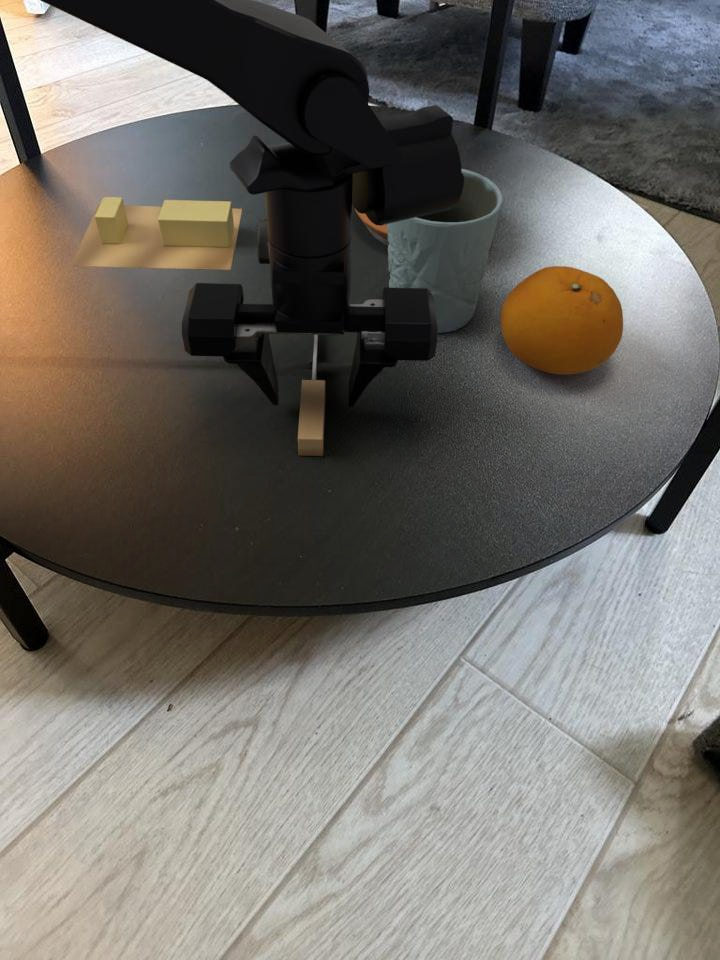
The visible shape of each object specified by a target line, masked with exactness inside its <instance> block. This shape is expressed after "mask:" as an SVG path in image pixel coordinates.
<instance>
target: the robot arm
mask: <svg viewBox="0 0 720 960" xmlns="http://www.w3.org/2000/svg"><path fill="white" fill-rule="evenodd" d="M39 1H41V2H42V3H45V4H47V5H49V6H51V7H53V8H55V9H57V10H59V11H60V12H61V11H62V12H64V13H66V14H68V15H70V16H72V17H74V18H76V19H78V20H80V21H83V22H85V23H87V24H88V25H91V26H93V27H95V28H97V29H99V30H101V31H104V32H106V33H108V34H109V35H112V36H114V37H116V38H118V39H120V40H122V41H124V42H127V43H129V44H130V45H133V46H135V47H137V48H140V50H143V51H145V52H148V53H149V54H152V55H153V56H156V57H158V58H160V59H163V60H164V61H167V62H168V63H171V64H173V65H174V66H176V67H179V68H182V69H183V70H186V71H187V72H189V73H191V74H194V75H196V76H197V77H200V78H202V79H204V80H206V81H208V82H209V83H210V84H212V85H213V86H214V87H216V88H217V89H218V90H219V91H221V92H223V93H224V94H225V95H227V96H228V97H229V98H230V99H231V100H232V101H234V102H235V103H236V104H237V105H238V106H240V107H241V108H242V109H243V110H245V111H246V112H247V113H248V114H250V115H251V116H252V117H254V118H255V119H256V120H257V121H258V122H260V123H261V124H262V125H264V126H265V127H266V128H268V129H269V130H271V131H272V132H273V133H275V134H276V135H278V137H280V138H282V139H284V140H285V141H286V142H283V143H280V144H273V145H272V144H268V143H266V142H264V140H263V139H262V138H261V137H260V136H259V135H257V134H255V135H252V136H251V138H250V140H249V142H248V144H247V145H246V146H245V148H244V149H242V150H240V151H239V152H238V153H237V154H236V155H235V156H234V157H233V159H231V161H230V162H229V169H230V171H231V172H232V173H233V174H234V175H235V177H236V179H237V180H238V181H239V182H240V184H241V185H242V186H243V187H244V189H245V190H246V191H247V193H249V195H259V194H264V200H265V201H264V202H265V213H266V218H262V217H261V218H258V220H257V236H256V237H257V239H256V240H257V242H256V243H257V244H256V245H257V262H258V263H259V264H260V265H269V270H270V271H269V273H270V286H271V287H270V288H271V301H272V303H271V304H270V303H244V301H245V300H244V299H245V297H244V287H243V286H242V284H241V283H216V282H215V283H214V282H213V283H212V282H211V283H210V282H196V283H195V284H194V285H193V286H192V287H191V289H190V290H189V292H188V295H187V299H186V304H185V307H184V311H183V316H182V320H181V337H182V342H183V347H184V352H186V353H187V354H189V355H190V356H191V357H219V358H221V357H222V358H223V361H224V363H225V364H228V365H236V366H238V367H239V369H241V370H242V372H243V373H245V375H247V376H248V377H249V378H250V379H251V380H252V381H253V382H254V383H255V384H256V385H257V387H258V388H259V389H260V390H261V391H262V393H263V394H264V396H265V397H266V398H267V399H268V400H269V402H270V403H271V404H272V406H279V402H280V401H279V400H280V394H279V393H280V392H279V380H278V376H277V370H276V365H275V360H274V355H273V351H272V345H271V340H270V335H305V336H308V335H310V336H315V335H318V336H344V335H345V333H356V341H355V346H354V352H353V357H352V362H351V363H352V364H351V369H350V374H349V379H348V380H349V381H348V392H347V393H348V394H347V395H348V396H347V397H348V398H347V400H348V401H347V407H349V408H354V407H355V405H356V403H357V401H359V399H360V397H361V396H362V395H363V393H364V391H365V390H366V389H367V387H368V386H369V384H371V382H372V381H374V379H375V378H376V377H377V376H378V375H379V374H380V373H381V372H382V371H383V370H384V369H385V368H394V367H396V366H397V365H398V363H399V361H412V362H413V361H414V362H415V361H416V362H417V361H418V362H429V361H430V360H432V359H433V358H435V357H436V352H437V345H438V334H439V333H438V327H437V318H436V310H435V302H434V296H433V295H432V294H431V292H430V291H429V290H428V289H427V288H389V287H383V288H382V298H381V299H380V298H379V299H378V298H377V299H376V298H375V299H374V298H373V299H371V298H370V299H366V300H364V302H363V303H351V283H352V282H351V280H352V279H351V277H352V276H351V275H352V226H353V225H352V224H353V223H352V220H353V219H352V217H353V208H354V210H355V209H356V210H357V211H358V212H359V213H361V214H364V213H365V214H366V216H367V217H368V219H369V220H370V221H371V222H372V223H374V224H375V225H380V226H381V225H385V224H390V223H394V222H398V221H402V220H407V219H411V218H415V217H419V216H424V215H428V214H432V213H437V212H441V211H445V210H449V209H451V208H453V207H455V206H456V204H457V203H458V202H459V200H460V197H461V195H462V191H463V187H464V175H463V173H462V169H463V168H462V161H461V154H460V152H459V148H458V145H457V143H456V140H455V138H454V136H453V134H452V133H453V132H452V131H453V125H454V117H453V116H452V115H451V114H450V113H448V112H447V111H446V110H444V109H443V108H442V107H441V106H439V105H438V104H435V105H428V106H424V107H420V108H418V109H416V110H414V111H411V112H407V113H402V114H396V115H391V116H386V117H385V116H384V117H379V118H378V117H377V115H376V113H375V112H374V111H373V109H372V107H371V106H370V104H369V100H370V85H369V79H368V78H369V77H368V76H369V74H368V71H367V69H366V67H365V66H364V64H363V63H362V62H361V61H360V60H359V59H358V58H357V57H356V56H354V55H353V54H352V53H351V52H350V51H349V50H347V49H346V48H345V47H343V45H342V44H340V43H339V42H338V41H337V40H335V39H334V38H332V37H331V36H330V35H329V34H328V33H326V32H325V31H324V30H323V29H322V28H320V27H319V26H318V25H317V24H315V23H314V22H313V21H312V20H311V19H309V18H307V17H304V16H302V15H300V14H296V13H293V12H291V11H287V10H284V9H281V8H278V7H275V6H272V5H269V4H267V3H264V2H261V1H258V0H39Z"/></svg>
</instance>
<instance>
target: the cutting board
mask: <svg viewBox="0 0 720 960" xmlns="http://www.w3.org/2000/svg"><path fill="white" fill-rule="evenodd" d="M99 206H100V204H97V206H96V208H95V211H94V213H93V215H92V217H91V219H90V221H89V224H88V226H87V228H86V231H85V233H84V235H83V238H82V240H81V242H80V244H79V247H78V248H77V251H76V254H75V256H74V258H73V260H72V262H71V265H70V267H85V268H86V267H88V268H89V267H91V268H126V269H127V268H131V269H134V268H135V269H171V270H172V269H173V270H175V269H177V270H211V271H213V270H215V271H217V270H218V271H231V270H232V266H233V261H234V255H235V251H236V245H237V239H238V234H239V230H240V224H241V220H242V214H243V208H234V207H232V212H233V222H234V230H233V235H232V240H231V245H230V247H197V246H163V244H162V238H161V233H160V228H159V223H158V218H159V215H160V212H161V209H162V206H155V205H153V206H152V205H151V206H150V205H149V206H148V205H124V207H125V211H126V216H127V220H128V226H127V229H126V231H125V234H124V236H123V239H122V242H121V244H108V243H101V239H100V236H99V232H98V228H97V224H96V220H95V215H96V213H97V211H98V208H99Z"/></svg>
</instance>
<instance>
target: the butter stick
mask: <svg viewBox="0 0 720 960" xmlns="http://www.w3.org/2000/svg"><path fill="white" fill-rule="evenodd" d="M161 207H162V209H161V212H160V215H159V218H158V223H159V228H160V233H161V238H162V244H163V246H197V247H230V245H231V240H232V235H233V230H234V222H233V212H232V208H233V204H232V201H226V200H225V201H222V200H221V201H220V200H187V199H186V200H185V199H184V200H183V199H182V200H181V199H164V200H163V203H162V206H161Z"/></svg>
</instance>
